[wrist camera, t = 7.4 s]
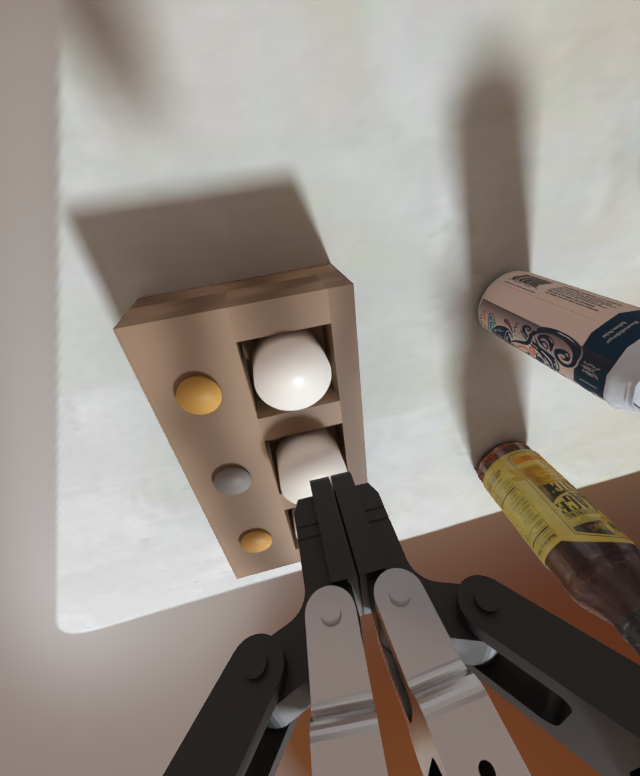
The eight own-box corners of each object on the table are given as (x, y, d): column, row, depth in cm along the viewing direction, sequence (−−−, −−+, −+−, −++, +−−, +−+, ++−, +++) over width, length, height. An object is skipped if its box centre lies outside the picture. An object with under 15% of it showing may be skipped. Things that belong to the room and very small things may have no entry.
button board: (330, 263, 22) (354, 285, 17) (355, 497, 34) (372, 544, 30) (138, 298, 20) (110, 331, 16) (237, 528, 33) (237, 582, 28)
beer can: (461, 313, 25) (605, 400, 16) (506, 256, 24) (700, 311, 14) (499, 340, 28) (649, 431, 18) (543, 288, 26) (736, 357, 16)
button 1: (316, 316, 20) (326, 335, 18) (324, 377, 23) (334, 401, 20) (244, 330, 20) (245, 351, 18) (260, 391, 22) (263, 418, 20)
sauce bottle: (539, 445, 36) (796, 673, 19) (499, 486, 38) (699, 719, 22) (499, 430, 33) (757, 677, 17) (459, 474, 36) (652, 729, 19)
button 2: (333, 420, 23) (345, 449, 21) (339, 465, 25) (350, 496, 23) (270, 434, 23) (274, 466, 20) (282, 479, 25) (287, 512, 23)
